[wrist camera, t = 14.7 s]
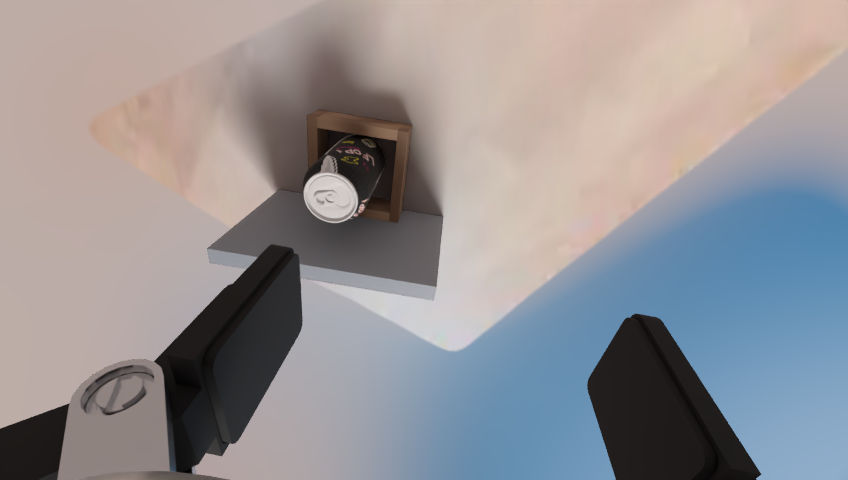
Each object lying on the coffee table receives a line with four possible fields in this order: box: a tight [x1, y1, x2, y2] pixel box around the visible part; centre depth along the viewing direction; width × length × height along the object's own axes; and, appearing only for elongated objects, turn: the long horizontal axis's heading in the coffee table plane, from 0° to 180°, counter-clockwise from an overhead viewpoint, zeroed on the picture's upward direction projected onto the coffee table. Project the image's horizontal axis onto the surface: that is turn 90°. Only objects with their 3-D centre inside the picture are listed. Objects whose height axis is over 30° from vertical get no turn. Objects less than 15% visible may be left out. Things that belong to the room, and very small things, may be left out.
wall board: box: [207, 190, 443, 301], centre depth 37 cm, size 20×2×14 cm, turn 82°
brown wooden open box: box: [307, 110, 412, 223], centre depth 38 cm, size 10×10×4 cm
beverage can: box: [303, 134, 385, 223], centre depth 34 cm, size 6×6×12 cm
